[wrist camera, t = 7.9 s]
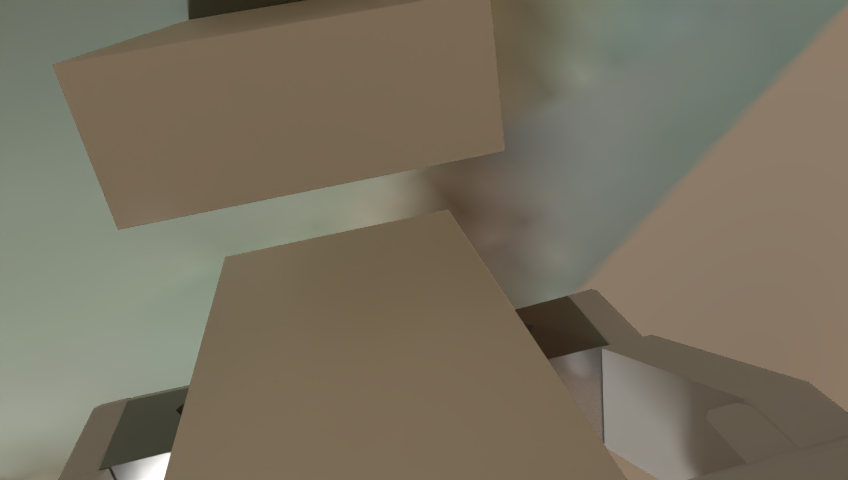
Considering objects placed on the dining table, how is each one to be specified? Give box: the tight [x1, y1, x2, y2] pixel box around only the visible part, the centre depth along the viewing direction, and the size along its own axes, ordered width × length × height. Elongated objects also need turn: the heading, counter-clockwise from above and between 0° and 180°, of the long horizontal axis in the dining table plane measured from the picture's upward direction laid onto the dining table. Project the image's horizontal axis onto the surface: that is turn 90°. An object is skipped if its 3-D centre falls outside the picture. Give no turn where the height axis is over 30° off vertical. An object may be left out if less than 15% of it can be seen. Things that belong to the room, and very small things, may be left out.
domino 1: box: [53, 0, 505, 230], centre depth 11 cm, size 2×5×9 cm, turn 99°
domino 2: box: [164, 210, 627, 480], centre depth 10 cm, size 2×5×9 cm, turn 98°
